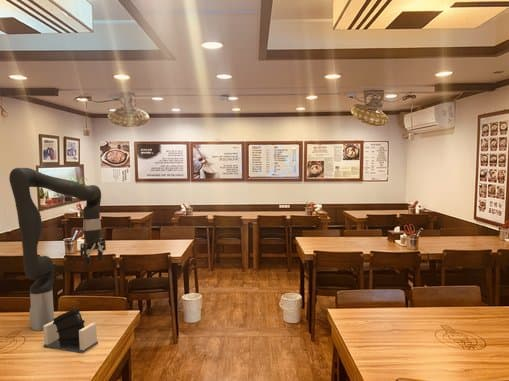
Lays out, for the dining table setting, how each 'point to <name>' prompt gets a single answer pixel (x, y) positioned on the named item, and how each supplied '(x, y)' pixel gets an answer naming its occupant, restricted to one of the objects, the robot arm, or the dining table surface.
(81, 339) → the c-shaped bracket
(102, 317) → the dining table surface
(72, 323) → the magazine
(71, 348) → the rail plate
